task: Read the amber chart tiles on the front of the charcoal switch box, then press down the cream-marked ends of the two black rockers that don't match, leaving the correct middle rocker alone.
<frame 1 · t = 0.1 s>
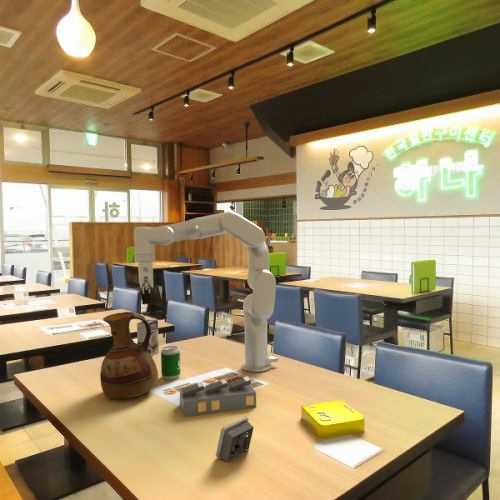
hand: (146, 301, 167), 31 cm above the table, tool pointing down, fingers open, 9 cm apart
element tile: (331, 425, 128), on the table
rocker 3: (192, 388, 140), point 7 cm above the table, hinge at 12.0°
rocker 2: (216, 385, 142), point 7 cm above the table, hinge at 12.0°
electrical switch: (236, 455, 111), on the table
coffee box: (148, 355, 202), on the table
soda can: (171, 377, 171), on the table
ceramic pitcher: (130, 393, 155), on the table
switch housing: (217, 405, 143), on the table
rocker 1: (239, 383, 144), point 7 cm above the table, hinge at 12.0°
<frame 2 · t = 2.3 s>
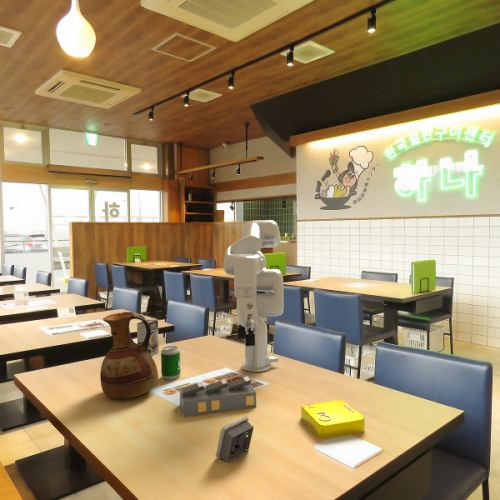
hand: (246, 342, 145), 21 cm above the table, tool pointing down, fingers open, 9 cm apart
nothing on the table moved.
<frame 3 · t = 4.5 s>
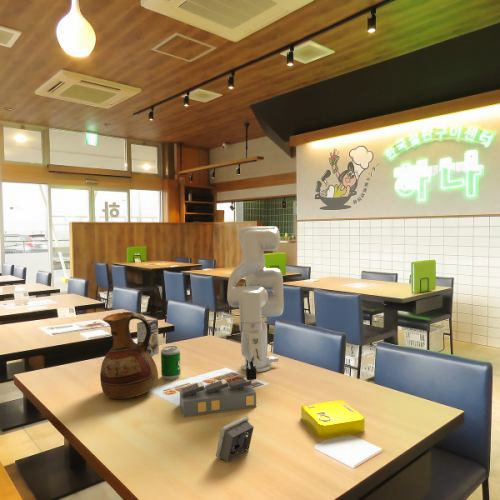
hand: (251, 379, 145), 8 cm above the table, tool pointing down, fingers closed
rocker 1: (239, 383, 144), point 7 cm above the table, hinge at 6.9°, touching gripper
everything else where it was.
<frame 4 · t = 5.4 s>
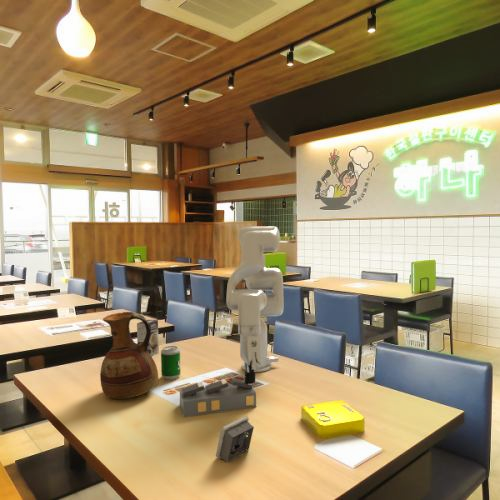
hand: (250, 382, 145), 7 cm above the table, tool pointing down, fingers closed
rocker 1: (241, 383, 145), point 7 cm above the table, hinge at -17.9°, touching gripper
everything else where it was.
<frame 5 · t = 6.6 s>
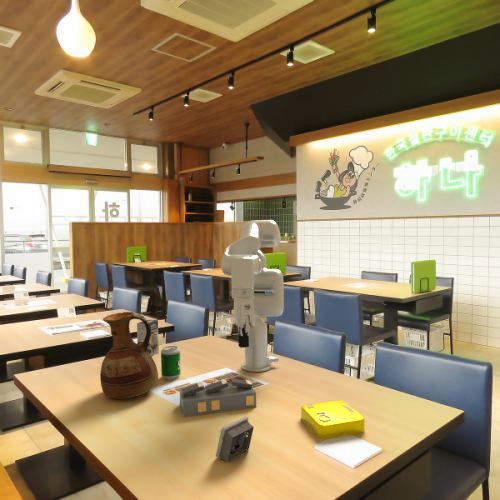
hand: (243, 346, 144), 19 cm above the table, tool pointing down, fingers closed
rocker 1: (241, 382, 145), point 7 cm above the table, hinge at -15.0°
everything else where it was.
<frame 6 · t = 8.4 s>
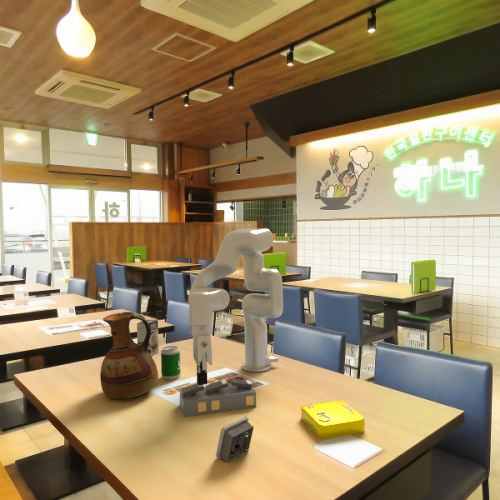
hand: (202, 383, 141), 8 cm above the table, tool pointing down, fingers closed
rocker 3: (192, 388, 140), point 7 cm above the table, hinge at 12.0°, touching gripper
rocker 1: (241, 382, 145), point 7 cm above the table, hinge at -13.7°
everything else where it was.
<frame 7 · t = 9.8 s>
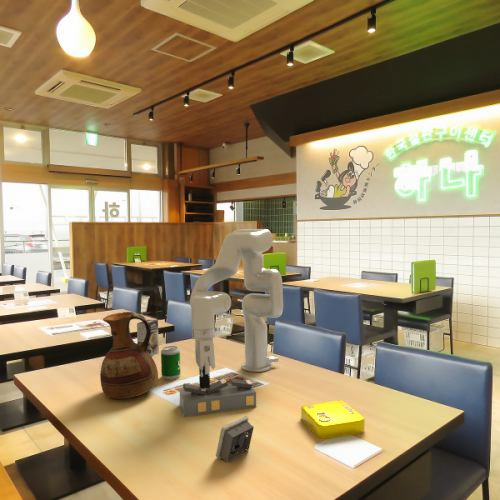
hand: (204, 387, 141), 7 cm above the table, tool pointing down, fingers closed
rocker 3: (194, 388, 140), point 7 cm above the table, hinge at -17.7°
rocker 2: (216, 386, 142), point 7 cm above the table, hinge at 18.6°, touching switch housing
everything else where it was.
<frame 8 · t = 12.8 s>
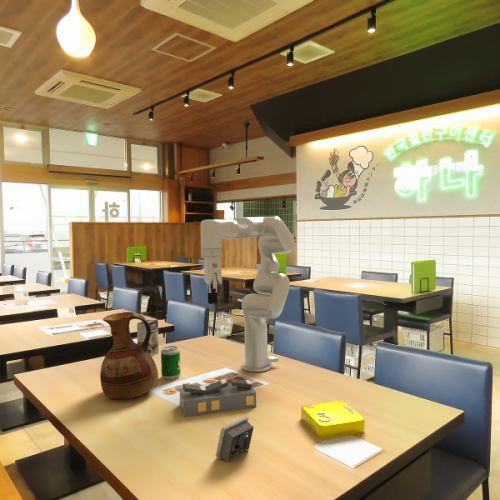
hand: (212, 303, 156), 32 cm above the table, tool pointing down, fingers closed
rocker 3: (194, 388, 140), point 7 cm above the table, hinge at -15.4°
rocker 2: (216, 386, 142), point 7 cm above the table, hinge at 16.1°
everything else where it was.
at the end: rocker 1 at -14° (first picture: +12°); rocker 2 at +16° (first picture: +12°); rocker 3 at -15° (first picture: +12°) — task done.
